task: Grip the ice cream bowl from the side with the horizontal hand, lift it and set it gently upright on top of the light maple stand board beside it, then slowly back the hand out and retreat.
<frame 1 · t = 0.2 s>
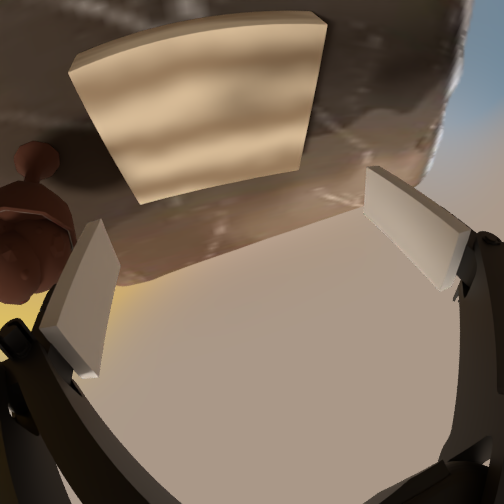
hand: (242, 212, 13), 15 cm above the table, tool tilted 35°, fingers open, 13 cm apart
maple stand board: (205, 104, 24), on the table
ice cream bowl: (37, 158, 22), on the table
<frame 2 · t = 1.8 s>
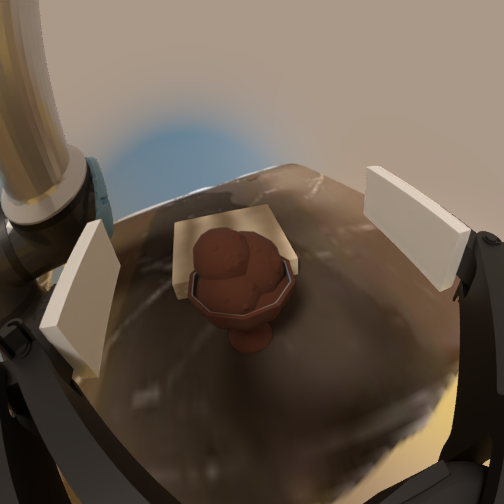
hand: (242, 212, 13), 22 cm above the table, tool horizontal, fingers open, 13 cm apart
maple stand board: (229, 252, 49), on the table
ice cream bowl: (250, 336, 35), on the table
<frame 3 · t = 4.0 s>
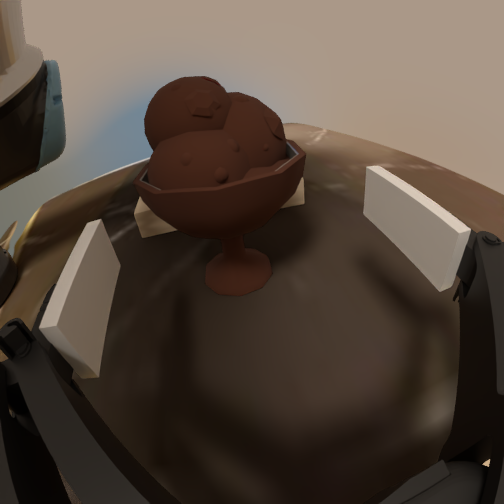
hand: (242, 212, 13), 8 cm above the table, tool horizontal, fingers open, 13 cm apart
maple stand board: (215, 189, 38), on the table
ice cream bowl: (238, 273, 23), on the table
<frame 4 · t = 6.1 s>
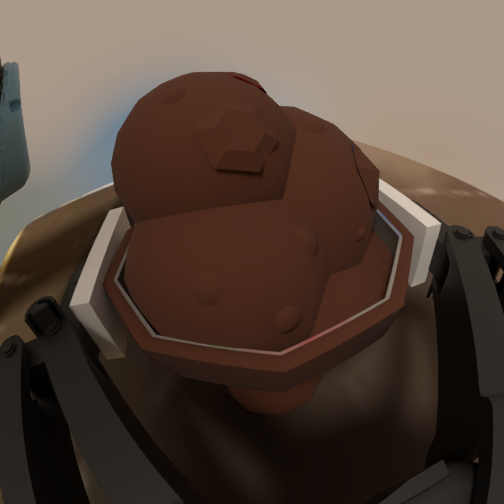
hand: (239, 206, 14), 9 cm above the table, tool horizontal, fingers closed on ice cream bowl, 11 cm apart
ice cream bowl: (273, 374, 16), on the table, touching gripper
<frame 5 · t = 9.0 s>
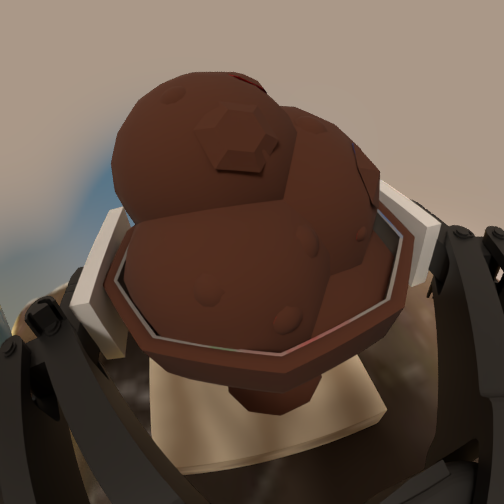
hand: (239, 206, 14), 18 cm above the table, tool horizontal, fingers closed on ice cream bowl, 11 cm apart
maple stand board: (251, 373, 26), on the table
ice cream bowl: (273, 374, 16), point 9 cm above the table, touching gripper
when the fingers open (13 cm above the table, at t = 11.9 s): ice cream bowl drops 1 cm, resting on maple stand board.
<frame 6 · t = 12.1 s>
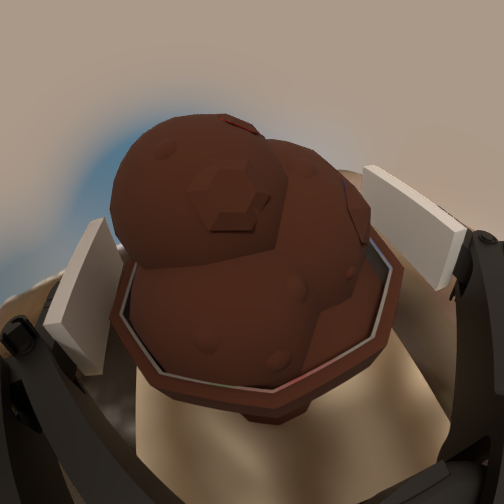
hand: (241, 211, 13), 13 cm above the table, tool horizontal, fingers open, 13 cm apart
maple stand board: (276, 402, 18), on the table
ice cream bowl: (272, 386, 16), point 3 cm above the table, touching maple stand board
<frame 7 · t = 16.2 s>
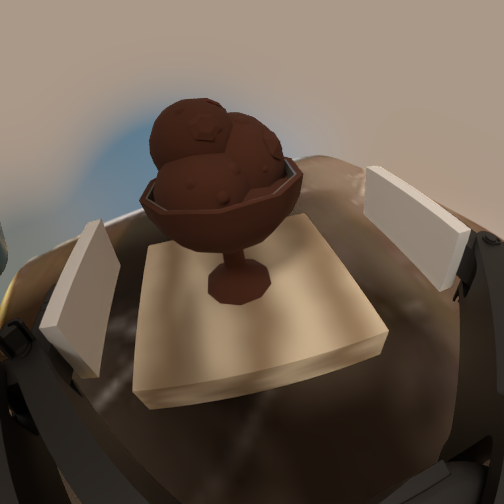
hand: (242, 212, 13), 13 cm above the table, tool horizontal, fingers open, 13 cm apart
maple stand board: (245, 305, 26), on the table
ice cream bowl: (239, 283, 25), point 3 cm above the table, touching maple stand board
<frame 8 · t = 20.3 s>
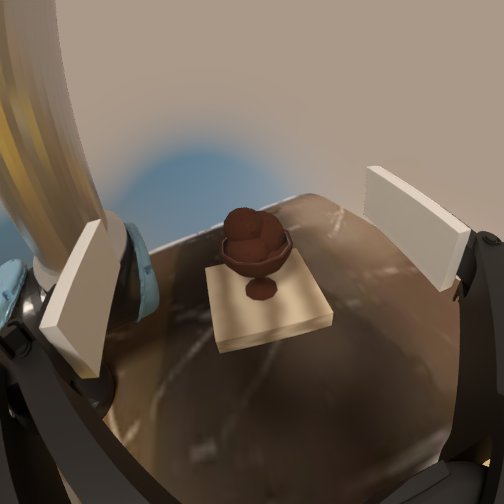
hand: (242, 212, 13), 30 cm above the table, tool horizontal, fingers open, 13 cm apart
maple stand board: (263, 301, 50), on the table
ice cream bowl: (261, 290, 49), point 3 cm above the table, touching maple stand board
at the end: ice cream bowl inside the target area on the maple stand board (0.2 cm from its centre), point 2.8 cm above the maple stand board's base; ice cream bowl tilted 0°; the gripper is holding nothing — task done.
